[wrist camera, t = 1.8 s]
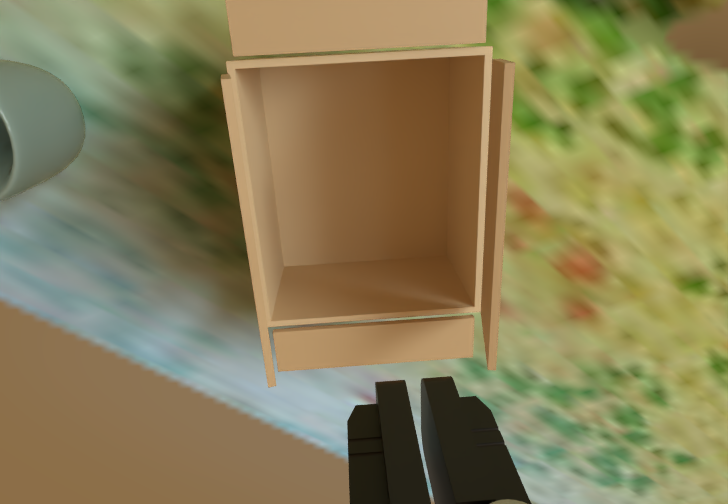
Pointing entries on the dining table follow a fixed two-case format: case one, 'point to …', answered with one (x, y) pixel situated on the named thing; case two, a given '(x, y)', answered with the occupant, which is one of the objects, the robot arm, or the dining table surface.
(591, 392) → the dining table surface
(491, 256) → the flap
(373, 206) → the carton
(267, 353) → the flap
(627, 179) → the dining table surface
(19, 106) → the cup
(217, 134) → the dining table surface
